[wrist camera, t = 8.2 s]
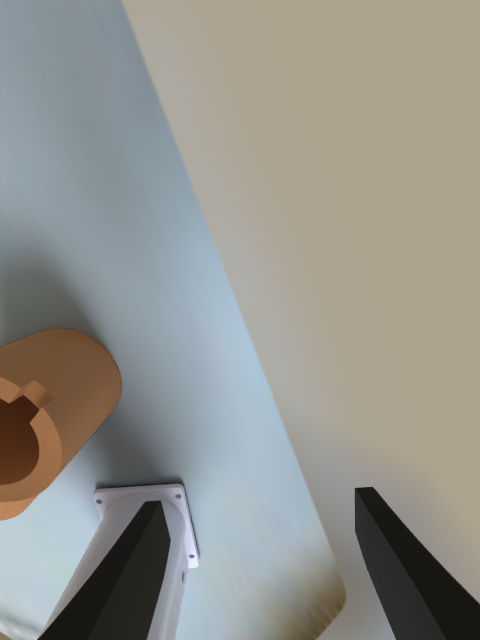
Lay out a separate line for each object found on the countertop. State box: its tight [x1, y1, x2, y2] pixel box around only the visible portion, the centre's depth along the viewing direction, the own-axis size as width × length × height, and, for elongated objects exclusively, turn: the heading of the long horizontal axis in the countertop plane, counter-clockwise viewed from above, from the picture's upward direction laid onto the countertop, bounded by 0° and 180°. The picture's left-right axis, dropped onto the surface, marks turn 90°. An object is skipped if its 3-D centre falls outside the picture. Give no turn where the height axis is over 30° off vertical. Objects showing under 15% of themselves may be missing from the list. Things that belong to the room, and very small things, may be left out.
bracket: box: [0, 328, 122, 521], centre depth 18 cm, size 18×8×7 cm, turn 138°
